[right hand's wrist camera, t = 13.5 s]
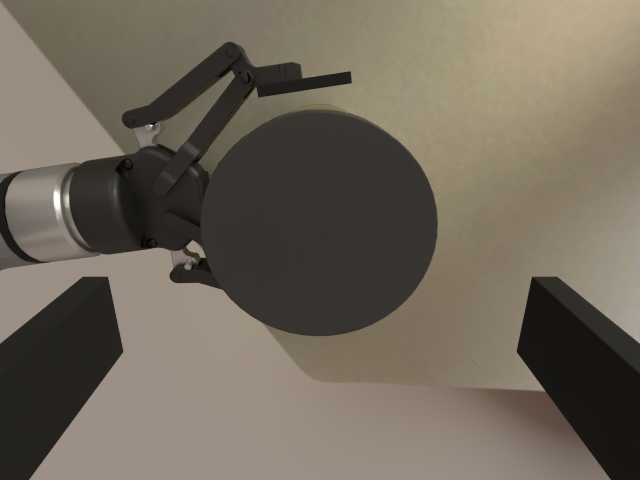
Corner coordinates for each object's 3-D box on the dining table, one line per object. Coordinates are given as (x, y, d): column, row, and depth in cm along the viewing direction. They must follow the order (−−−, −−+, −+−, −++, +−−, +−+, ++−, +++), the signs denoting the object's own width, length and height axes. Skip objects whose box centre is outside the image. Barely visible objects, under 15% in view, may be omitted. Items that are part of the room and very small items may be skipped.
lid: (422, 94, 19) (435, 96, 17) (428, 301, 23) (439, 325, 21) (190, 124, 20) (173, 128, 17) (235, 321, 24) (226, 346, 21)
